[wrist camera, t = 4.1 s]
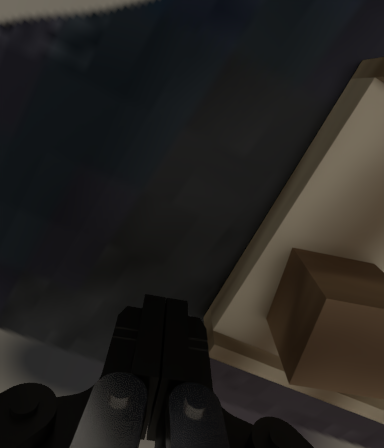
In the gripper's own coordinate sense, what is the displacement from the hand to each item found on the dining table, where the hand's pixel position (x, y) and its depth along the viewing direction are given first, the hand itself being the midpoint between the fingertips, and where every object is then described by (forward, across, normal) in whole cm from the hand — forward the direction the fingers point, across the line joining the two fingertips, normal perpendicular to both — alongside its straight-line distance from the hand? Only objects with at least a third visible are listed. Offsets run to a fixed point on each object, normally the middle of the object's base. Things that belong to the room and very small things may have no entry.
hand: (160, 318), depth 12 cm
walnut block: (+4, -7, 0) cm, 8 cm away
